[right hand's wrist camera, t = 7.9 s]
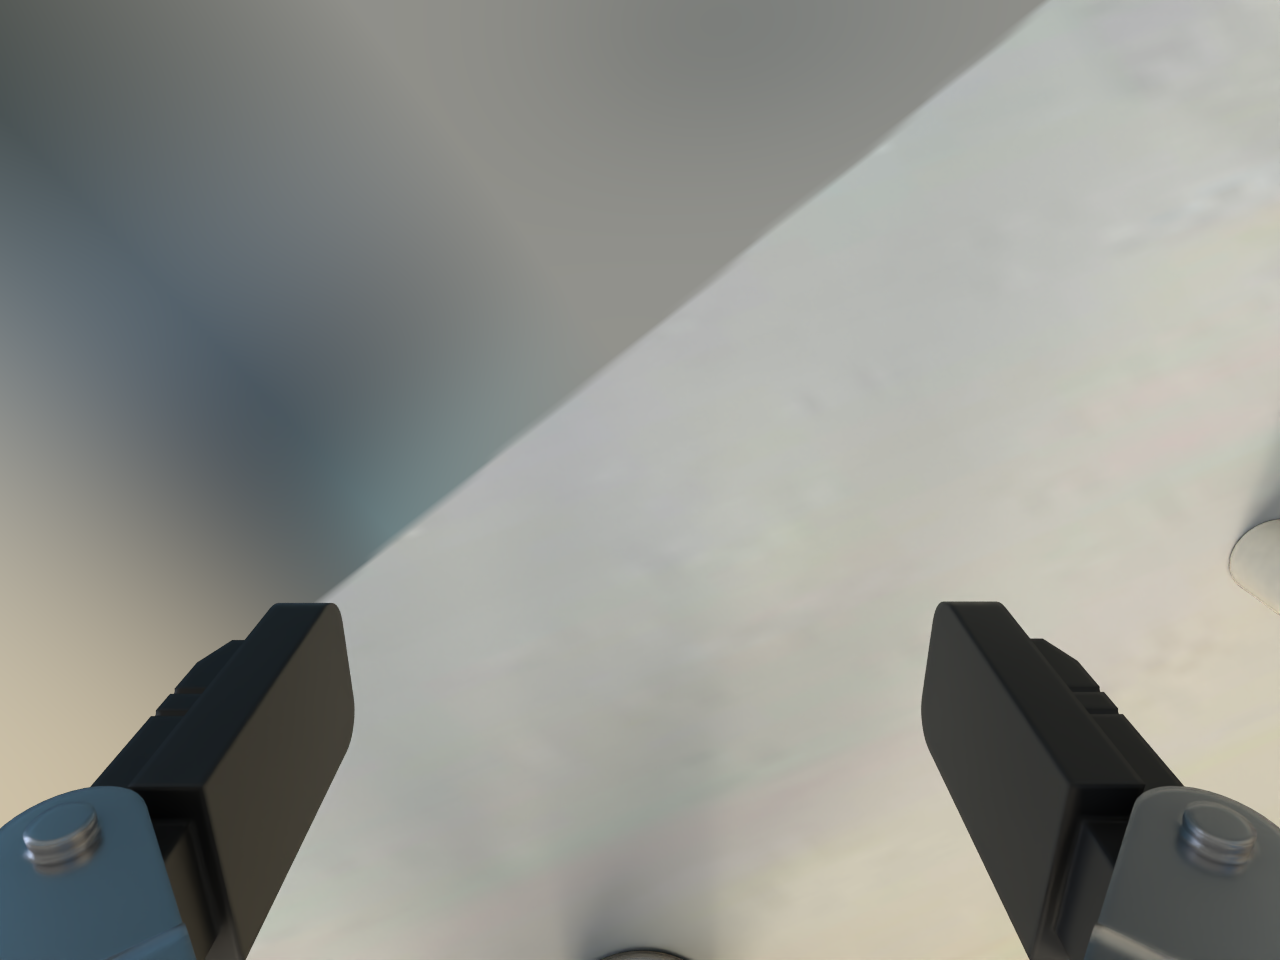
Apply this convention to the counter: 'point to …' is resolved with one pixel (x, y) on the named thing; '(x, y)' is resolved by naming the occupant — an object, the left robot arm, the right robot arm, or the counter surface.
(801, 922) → the counter surface
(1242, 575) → the jar
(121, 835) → the right robot arm
